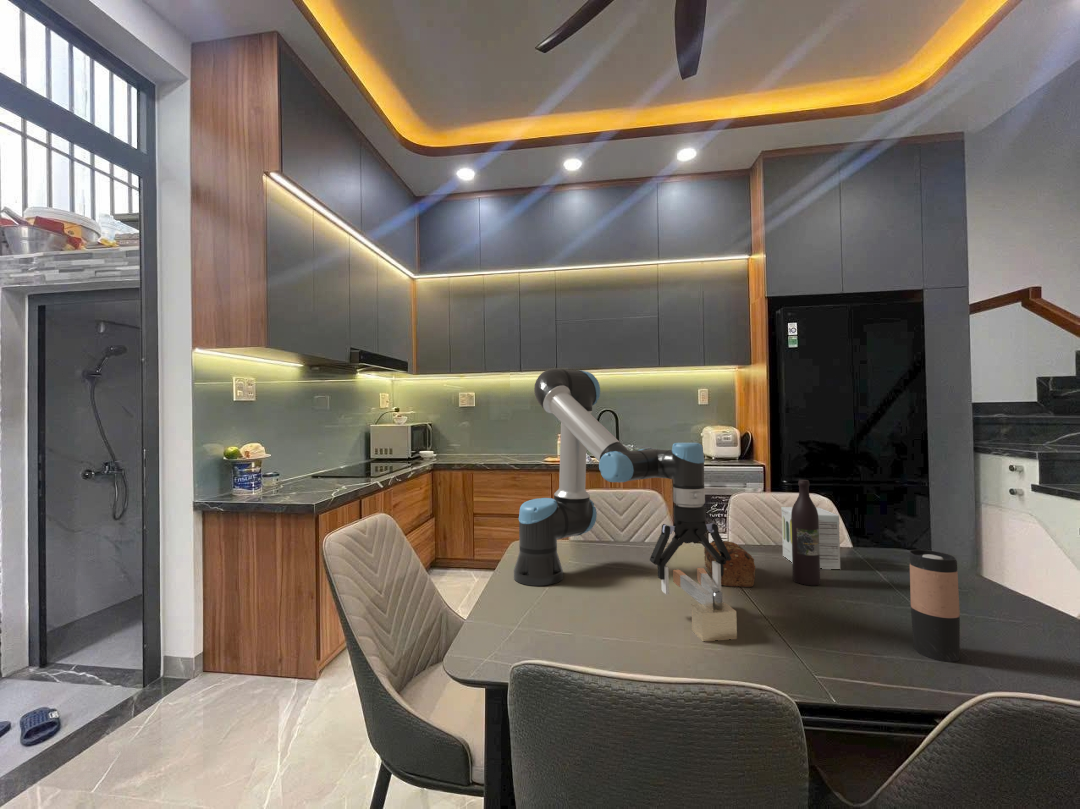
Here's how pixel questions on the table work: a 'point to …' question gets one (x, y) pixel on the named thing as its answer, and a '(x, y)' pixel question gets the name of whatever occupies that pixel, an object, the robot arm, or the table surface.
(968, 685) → the table surface
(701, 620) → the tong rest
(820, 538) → the supplement box
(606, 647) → the table surface
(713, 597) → the tong arm
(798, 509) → the wine bottle
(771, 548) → the table surface
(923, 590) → the travel mug
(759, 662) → the table surface
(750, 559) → the bread
